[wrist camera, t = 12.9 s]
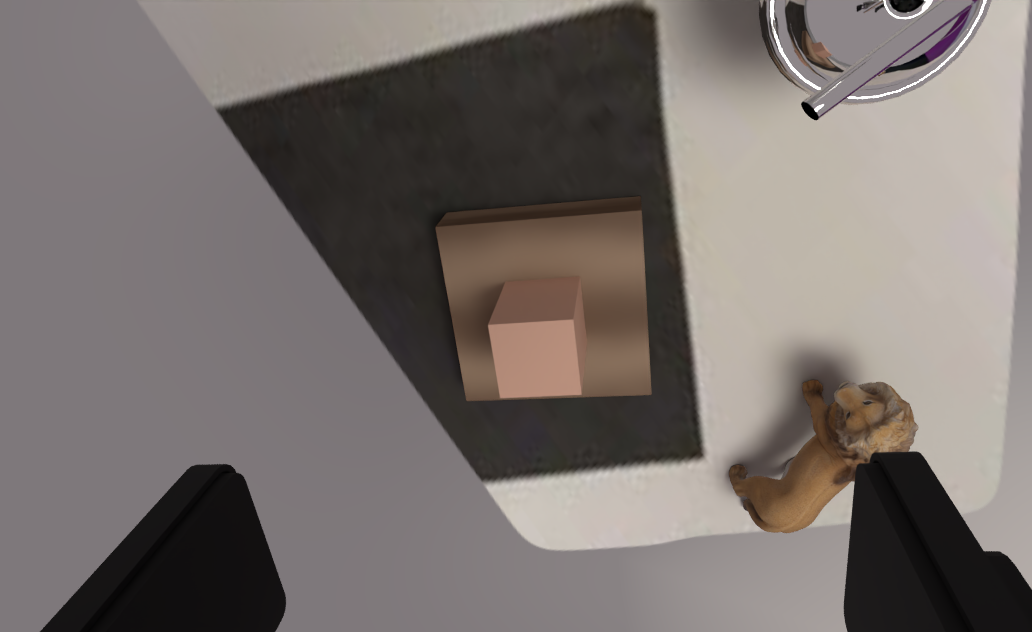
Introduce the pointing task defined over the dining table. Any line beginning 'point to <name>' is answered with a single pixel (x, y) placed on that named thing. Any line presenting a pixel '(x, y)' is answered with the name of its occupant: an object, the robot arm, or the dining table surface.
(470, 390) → the walnut base
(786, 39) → the cup with straw
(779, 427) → the dining table surface
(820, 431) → the lion figurine
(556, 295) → the terracotta block
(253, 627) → the robot arm
